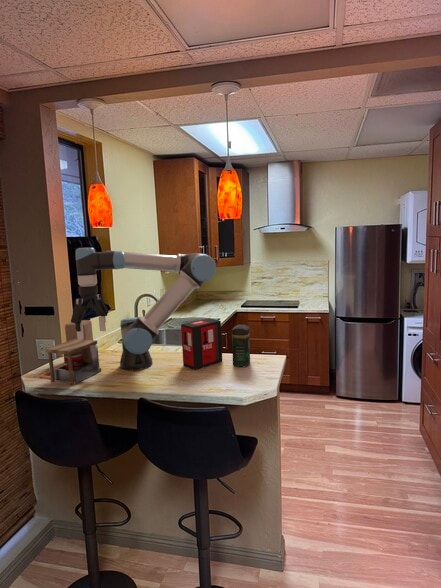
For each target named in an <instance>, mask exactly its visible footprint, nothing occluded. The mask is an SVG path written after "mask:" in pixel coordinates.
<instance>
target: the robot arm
mask: <svg viewBox="0 0 441 588" xmlns="http://www.w3.org/2000/svg"><path fill="white" fill-rule="evenodd" d="M75 263H76V264H75V266H76V274H77V284H78V285H79V286H78V295H80V298H75V300H74V305H73V306H74V307H73V311H72V315H71V319H70V322H71V323H75V326H76V331H77V339H84V333H83V323H81V321H82V320H84V317H85V314H86V312H87V311H88V309H90V308H91V307H92V308H93V309H95V311H96V312H97V314H98V315H99V316H98V326H99V332H106V331H107V328H106V321H107V320H106V317H107V316H108V314H109V310H108V307H107V305H106V304H105V301H104V299H103V295H102V294H101V293H100V294H99V291H98V285H97V284H98V279H97V278H98V277H97V271H102V270H104V271H106V270H122V269H128V270H130V269H131V270H143V271H160V272H173V273H176V274H177V275H179V277H177V279H176V280H175V281H174V282H173V283H172V285H170V286H169V288H168V289H167V290H166V291H165V292H164V293H163V295H161V297H160V298H159V299H158V300H157V301H156V302H155V303H154V304H153V305H152V307H151V308H150V309H149V310H148V311H147V312H146V313H145V315H144V316H137V317H128V318H122V319H121V320H120V325H119V326H120V327H119V328H120V333H121V346H122V352H121V353H122V354H121V356H120V362H119V367H120V369H121V370H125V371H140V370H144V369H147V368H150V367H151V366H153V358H152V355H151V353H150V351H149V350H150V348H151V347H152V345H153V342H154V340H155V339H156V338H157V337H158V335H160V334H159V331H160V328H162V326H163V325H164V323H165V322H166V321H167V320H168V319H169V318H170V317H171V316H172V315H173V313H174V312H175V311H177V309H178V308H179V307H180V306H181V305H182V303H184V301H185V300H186V299H187V298H188V297H189V296H190V295H191V293H192V292H194V290H195V289H196V290H197V289H200V288H201V287H202V286H203V285H204V284H205V283H206V282H209V281H210V280H212V279H213V277H215V275H216V272H217V264H216V262H215V260H214V258H213V257H211V256H210V255H208V254H206V253H199V252H198V253H197V252H195V253H178V254H176V255H171V254H169V255H168V254H158V253H143V252H133V251H132V252H129V251H122V250H112V249H111V250H110V249H109V250H108V249H107V250H105V251H96V249H95V248H94V247H78V248H76V249H75ZM78 320H79V321H78Z"/></svg>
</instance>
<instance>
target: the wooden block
mask: <svg viewBox="0 0 441 588" xmlns="http://www.w3.org/2000/svg"><path fill="white" fill-rule="evenodd" d="M78 321H79V320H78ZM81 323H83V333H84V339H83V340H94V336H93V334H94V333H93V327H92V326H93V324H92V320H90V319H82V321H81ZM64 330H65V342H67V341H70V340H73V339H77V331H76V326H75V323H71V321H70V322H68V323H66V324H65V325H64Z"/></svg>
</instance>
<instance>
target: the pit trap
mask: <svg viewBox="0 0 441 588" xmlns="http://www.w3.org/2000/svg"><path fill="white" fill-rule="evenodd" d="M39 377H42V378H41V379H46V380H47V379H48V380H51V375H50V370H49V371H47V372H44V373H42V374H40V375H38V378H39Z"/></svg>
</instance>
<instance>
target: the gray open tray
mask: <svg viewBox="0 0 441 588" xmlns="http://www.w3.org/2000/svg"><path fill="white" fill-rule="evenodd" d="M90 350H91V361H92V363H90V362H83V363H84V367H82V368H80V369H78V370H76V371H73V375H74V384H78V383H79V382H81V381H83V380H85V379H87V378H89V377H92V376H93V375H94V376H95V374H99V373H101V372H102V368H101V367H100V359H99V349H98V344H96V345H92V346H90ZM54 376H55V381H58V382H67V383H70V375H69V370H65V364H62V365H60V366H58V367H55V368H54Z"/></svg>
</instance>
